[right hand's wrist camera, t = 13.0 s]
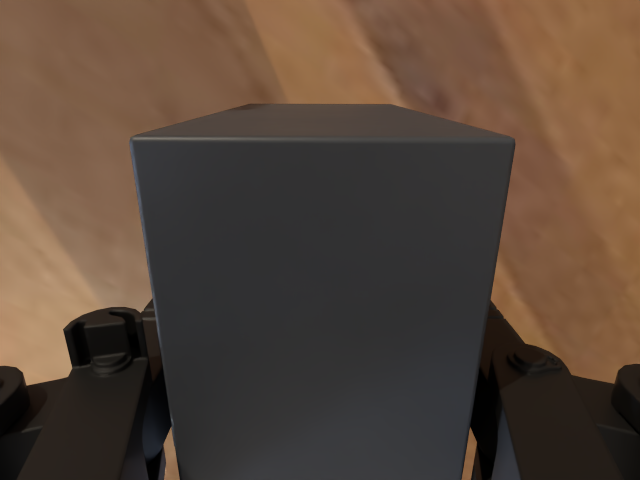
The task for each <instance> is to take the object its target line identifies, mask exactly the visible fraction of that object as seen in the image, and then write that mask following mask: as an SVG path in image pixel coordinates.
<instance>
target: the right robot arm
mask: <svg viewBox="0 0 640 480" xmlns="http://www.w3.org/2000/svg"><path fill="white" fill-rule="evenodd" d="M63 331H64V335H65V339H66V343H67V347H68V351H69V355H70V360H71V364H72V370H71V372H70V374H69V376H68V377H66V378H63V379H58V380H53V381H48V382H43V383H38V384H33V385H28V386H26V382H25V379H24V376H23V372H21V371H20V370H19V369H18V368H16V367H10V366H0V480H164V474H165V467H166V460H165V452H164V446H163V444H164V441H165V439H166V437H167V435H168V432H169V430H170V428H171V427H172V423H171V417H170V410H169V403H168V397H167V390H166V383H165V377H164V370H163V363H162V357H161V350H160V343H159V337H158V330H157V323H156V317H155V310H154V303H153V298H152V300H151V301H150V302H149V303H148V305H147V306H146V307H145V309H144V311H142V312H141V313H140V312H138V311H137V310H136V309H131V308H127V307H111V308H105V309H100V310H96V311H93V312H90V313H87V314H84V315H82V316H80V317H78V318H77V319H75V320H73V321H71V322H70V323H69V324H68V325H67V326H66V327H65V328H64V329H63ZM470 427H471V430H472V432H473V434H474V436H475V439H476V441H477V446H476V452H475V459H474V465H473V471H472V477H471V480H640V364H632V365H625V366H623V367H622V368H621V369H620V370H618V373H617V377H616V380H615V384H612V383H607V382H602V381H597V380H592V379H587V378H581V377H577V376H574V375H571V374H570V372H569V370H568V368H567V366H566V365H565V364H564V363H563V362H562V360H561V359H560V358H558V357H557V356H555V355H554V354H552V353H551V352H549V351H546V350H544V349H542V348H539V347H537V346H533V345H528V344H525V343H524V342H523V340H522V339H521V338H520V337H519V335H518V334H517V333H516V332H515V330H514V329H513V328H512V327H511V325H510V324H509V323H508V321H507V320H506V319H504V318H503V315H502V314H501V313H500V311H499V310H497V309H496V306H495V305H494V304H493V303H492V301H491V300H490V305H489V311H488V318H487V324H486V330H485V336H484V343H483V349H482V355H481V361H480V367H479V374H478V380H477V386H476V392H475V398H474V405H473V411H472V417H471V423H470ZM172 434H173V430H172ZM173 440H174V437H173ZM174 446H175V443H174Z"/></svg>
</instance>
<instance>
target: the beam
mask: <svg viewBox="0 0 640 480" xmlns="http://www.w3.org/2000/svg"><path fill="white" fill-rule="evenodd" d="M129 143H130V150H131V157H132V163H133V170H134V177H135V183H136V190H137V197H138V203H139V210H140V217H141V223H142V230H143V237H144V243H145V250H146V257H147V263H148V270H149V277H150V283H151V290H152V297H153V303H154V310H155V317H156V323H157V330H158V337H159V343H160V350H161V357H162V363H163V370H164V377H165V383H166V390H167V397H168V403H169V410H170V417H171V423H172V430H173V437H174V443H175V450H176V457H177V463H178V470H179V477H180V480H461V479H462V473H463V467H464V460H465V454H466V448H467V442H468V436H469V429H470V423H471V417H472V411H473V405H474V398H475V392H476V386H477V380H478V374H479V367H480V361H481V355H482V349H483V343H484V336H485V330H486V324H487V318H488V311H489V305H490V299H491V293H492V287H493V280H494V274H495V268H496V262H497V256H498V249H499V243H500V237H501V231H502V225H503V218H504V212H505V206H506V200H507V193H508V187H509V181H510V175H511V169H512V162H513V156H514V150H515V139H514V138H512V137H510V136H506V135H503V134H499V133H495V132H492V131H488V130H484V129H480V128H477V127H473V126H469V125H466V124H462V123H458V122H454V121H451V120H447V119H443V118H440V117H436V116H432V115H429V114H425V113H421V112H417V111H414V110H410V109H406V108H403V107H399V106H395V105H392V104H247V105H244V106H240V107H236V108H233V109H229V110H225V111H222V112H218V113H214V114H211V115H207V116H204V117H200V118H196V119H193V120H189V121H185V122H182V123H178V124H174V125H171V126H167V127H163V128H160V129H156V130H152V131H149V132H145V133H141V134H138V135H135V136H132V137H131V138H130V142H129Z"/></svg>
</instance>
